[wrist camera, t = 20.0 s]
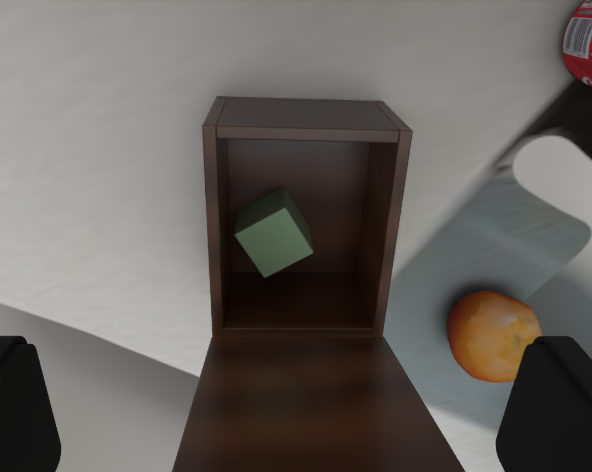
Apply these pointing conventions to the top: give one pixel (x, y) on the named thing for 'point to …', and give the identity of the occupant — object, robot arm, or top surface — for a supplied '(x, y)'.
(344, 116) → the box
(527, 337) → the fruit
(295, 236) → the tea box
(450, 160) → the top surface
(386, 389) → the lid
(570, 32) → the soda can
